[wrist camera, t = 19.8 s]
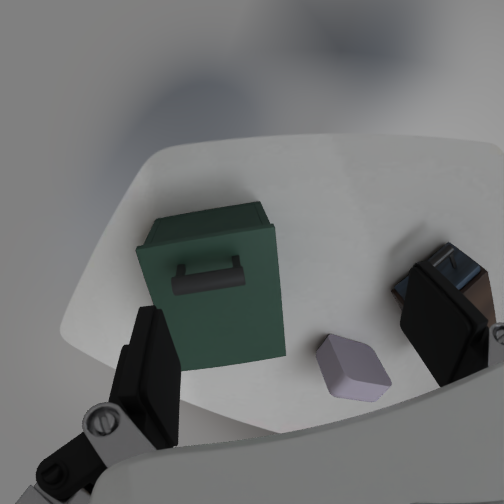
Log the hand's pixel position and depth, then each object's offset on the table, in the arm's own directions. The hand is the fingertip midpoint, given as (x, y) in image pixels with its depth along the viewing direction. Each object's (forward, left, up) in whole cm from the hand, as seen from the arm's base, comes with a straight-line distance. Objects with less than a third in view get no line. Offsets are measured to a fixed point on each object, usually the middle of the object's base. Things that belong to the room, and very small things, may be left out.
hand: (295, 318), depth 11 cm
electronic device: (+31, +13, -28) cm, 43 cm away
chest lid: (+12, -4, -18) cm, 22 cm away
